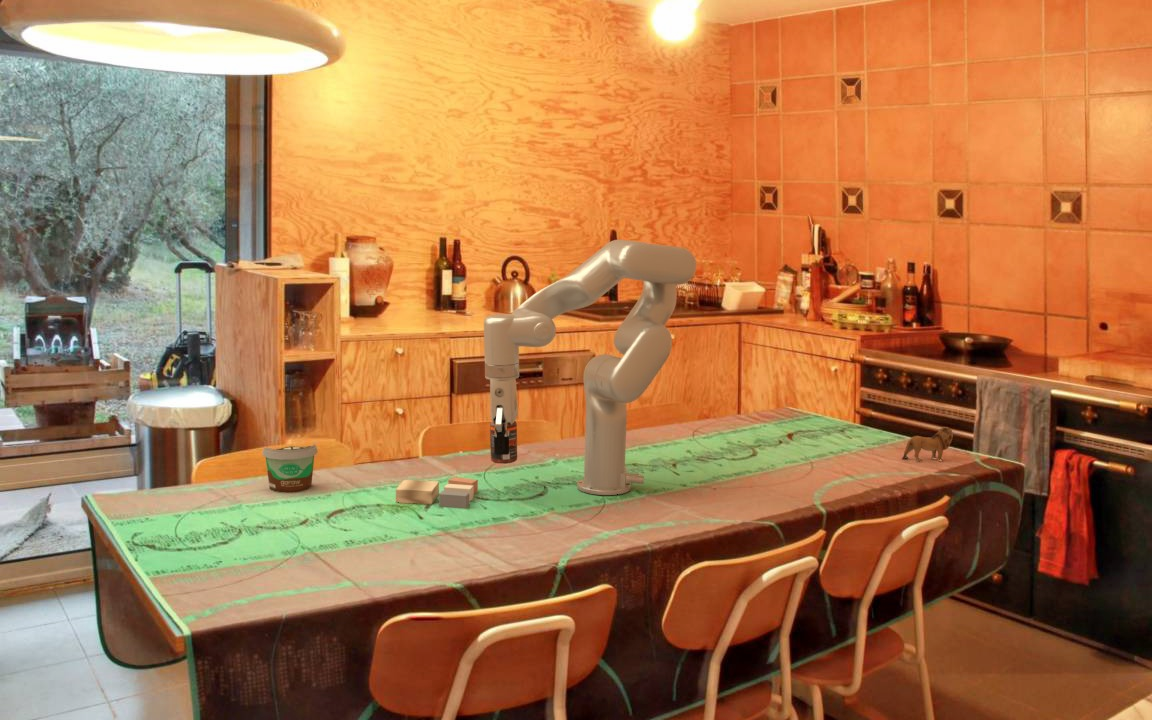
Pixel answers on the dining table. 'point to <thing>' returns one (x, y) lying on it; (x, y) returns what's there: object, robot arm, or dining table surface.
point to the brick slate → (454, 499)
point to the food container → (290, 468)
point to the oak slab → (417, 491)
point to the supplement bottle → (512, 444)
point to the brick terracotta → (464, 482)
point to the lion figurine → (930, 443)
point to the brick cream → (460, 489)
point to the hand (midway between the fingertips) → (504, 449)
